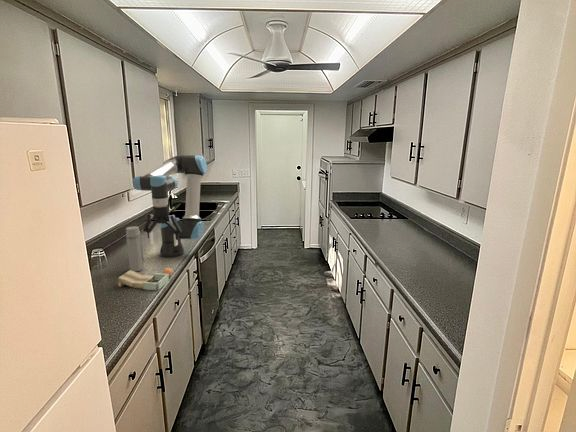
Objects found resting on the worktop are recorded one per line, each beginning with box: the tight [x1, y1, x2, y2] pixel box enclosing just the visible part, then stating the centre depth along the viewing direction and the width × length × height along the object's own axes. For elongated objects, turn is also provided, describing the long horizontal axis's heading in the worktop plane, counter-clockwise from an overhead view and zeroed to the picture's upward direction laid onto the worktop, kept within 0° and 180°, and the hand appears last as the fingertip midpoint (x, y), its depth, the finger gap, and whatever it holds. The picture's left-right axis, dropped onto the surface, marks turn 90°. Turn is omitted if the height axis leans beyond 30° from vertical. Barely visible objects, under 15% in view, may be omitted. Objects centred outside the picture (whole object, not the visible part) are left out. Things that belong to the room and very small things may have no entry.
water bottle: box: [125, 225, 147, 273], centre depth 183 cm, size 9×8×25 cm
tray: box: [142, 272, 170, 291], centre depth 167 cm, size 12×8×4 cm, turn 174°
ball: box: [161, 267, 173, 277], centre depth 177 cm, size 5×5×5 cm
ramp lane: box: [117, 269, 156, 289], centre depth 168 cm, size 10×14×5 cm
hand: (164, 244), depth 172 cm, fingers open, 13 cm apart
